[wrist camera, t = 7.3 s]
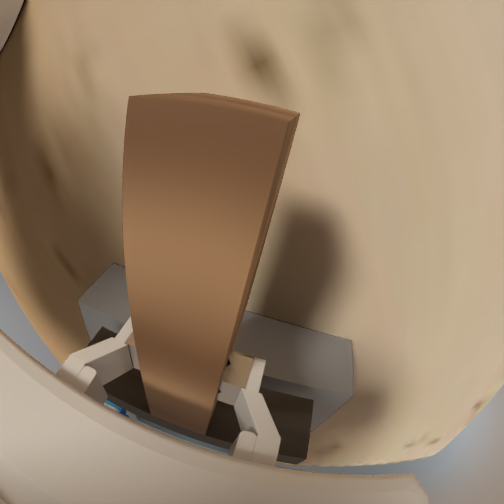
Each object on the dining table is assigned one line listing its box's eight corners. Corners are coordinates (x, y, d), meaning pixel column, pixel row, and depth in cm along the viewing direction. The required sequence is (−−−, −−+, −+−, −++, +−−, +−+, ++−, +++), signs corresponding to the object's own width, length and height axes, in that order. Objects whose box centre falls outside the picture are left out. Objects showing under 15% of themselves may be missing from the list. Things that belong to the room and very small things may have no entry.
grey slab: (129, 356, 29) (109, 388, 24) (113, 263, 21) (77, 300, 17) (293, 412, 27) (286, 450, 23) (351, 340, 20) (353, 395, 15)
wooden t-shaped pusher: (83, 86, 8) (2, 102, 5) (455, 176, 7) (523, 232, 4) (106, 339, 16) (76, 382, 13) (305, 409, 15) (296, 464, 12)
